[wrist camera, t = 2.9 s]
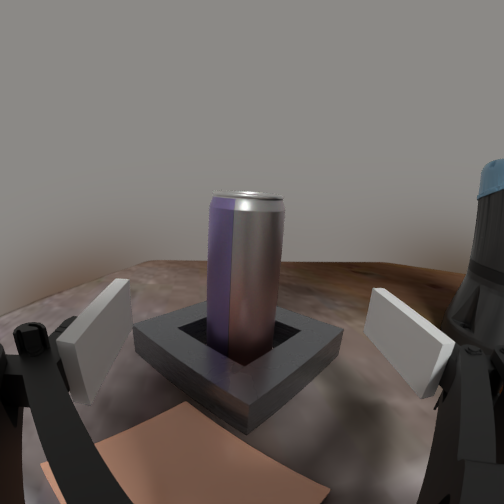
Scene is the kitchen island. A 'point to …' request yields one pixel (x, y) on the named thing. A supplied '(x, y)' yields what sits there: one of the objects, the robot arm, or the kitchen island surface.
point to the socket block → (230, 372)
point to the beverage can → (243, 272)
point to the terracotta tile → (196, 465)
